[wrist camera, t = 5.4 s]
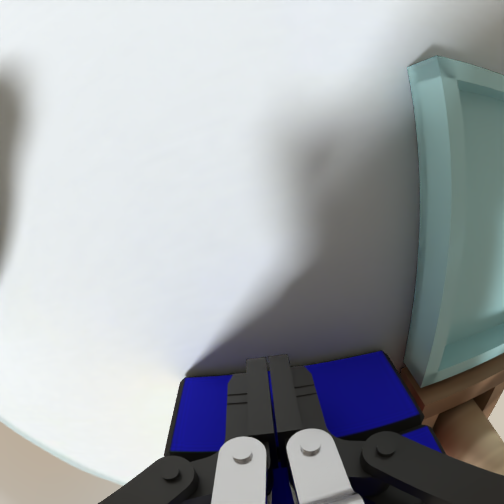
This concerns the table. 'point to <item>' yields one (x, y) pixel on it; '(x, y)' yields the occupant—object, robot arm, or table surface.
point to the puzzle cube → (331, 401)
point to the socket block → (459, 389)
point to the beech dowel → (470, 437)
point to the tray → (457, 219)
